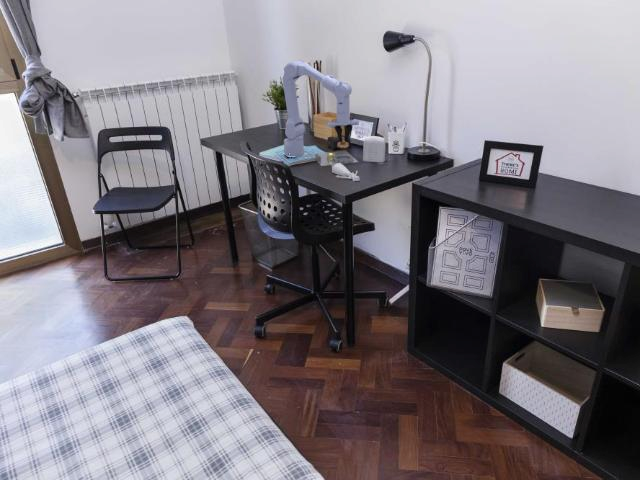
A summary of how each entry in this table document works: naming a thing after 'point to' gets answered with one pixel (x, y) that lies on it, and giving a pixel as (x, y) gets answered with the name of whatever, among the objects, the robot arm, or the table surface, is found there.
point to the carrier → (334, 158)
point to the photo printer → (374, 149)
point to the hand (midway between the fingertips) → (343, 141)
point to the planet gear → (343, 143)
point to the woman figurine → (344, 172)
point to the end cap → (335, 142)
